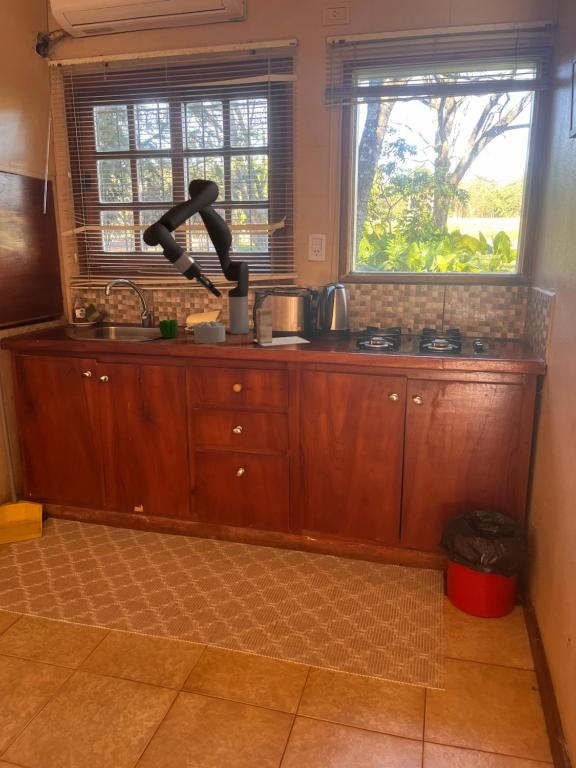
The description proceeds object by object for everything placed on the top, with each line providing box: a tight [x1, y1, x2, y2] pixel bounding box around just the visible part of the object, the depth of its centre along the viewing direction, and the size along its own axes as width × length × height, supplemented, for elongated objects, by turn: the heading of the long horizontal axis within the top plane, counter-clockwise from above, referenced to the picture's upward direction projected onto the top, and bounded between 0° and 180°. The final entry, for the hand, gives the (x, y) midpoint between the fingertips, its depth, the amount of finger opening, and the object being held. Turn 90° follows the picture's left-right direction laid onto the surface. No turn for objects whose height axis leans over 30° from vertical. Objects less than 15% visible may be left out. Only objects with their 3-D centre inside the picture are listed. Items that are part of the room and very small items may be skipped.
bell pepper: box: [158, 315, 179, 339], centre depth 248 cm, size 8×8×10 cm
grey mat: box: [252, 335, 310, 347], centre depth 235 cm, size 16×21×1 cm
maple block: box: [255, 307, 273, 345], centre depth 231 cm, size 5×5×14 cm
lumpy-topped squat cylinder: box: [193, 320, 226, 345], centre depth 238 cm, size 10×13×9 cm
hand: (219, 295), depth 221 cm, fingers closed
